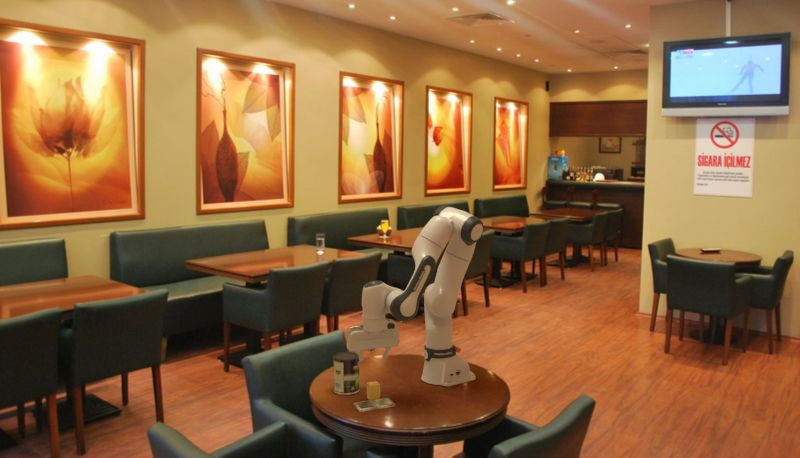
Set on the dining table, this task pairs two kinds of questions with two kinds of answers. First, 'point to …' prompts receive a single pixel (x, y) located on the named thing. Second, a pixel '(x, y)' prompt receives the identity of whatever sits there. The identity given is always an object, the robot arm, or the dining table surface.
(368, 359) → the dining table surface
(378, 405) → the banknote
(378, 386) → the yellow rectangular block
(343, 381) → the coffee can
